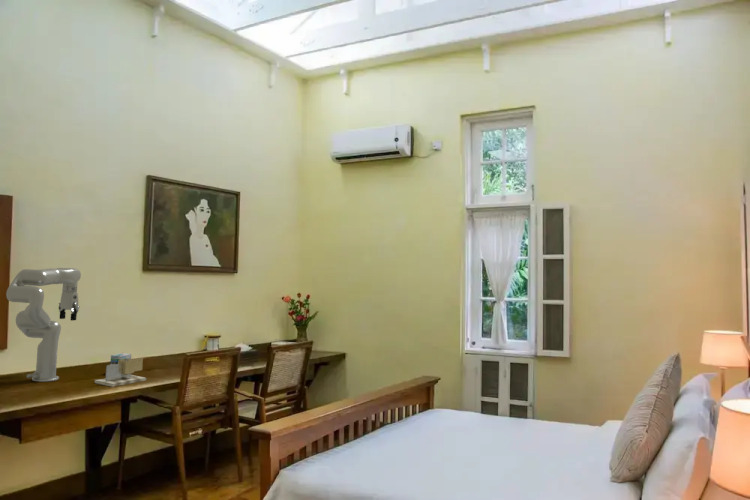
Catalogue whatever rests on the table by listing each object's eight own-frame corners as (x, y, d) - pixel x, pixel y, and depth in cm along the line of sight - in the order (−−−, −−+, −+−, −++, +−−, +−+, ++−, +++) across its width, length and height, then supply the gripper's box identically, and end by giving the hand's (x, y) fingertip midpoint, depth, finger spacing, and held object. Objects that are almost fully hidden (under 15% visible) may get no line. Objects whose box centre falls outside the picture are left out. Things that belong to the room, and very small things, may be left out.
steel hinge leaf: (109, 382, 315) (110, 362, 315) (102, 380, 317) (103, 361, 317) (133, 378, 328) (134, 359, 329) (126, 376, 331) (127, 357, 331)
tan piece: (125, 374, 323) (125, 361, 323) (117, 372, 326) (118, 359, 326) (145, 370, 336) (146, 358, 336) (138, 369, 338) (138, 357, 338)
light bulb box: (119, 375, 342) (120, 356, 342) (109, 373, 343) (110, 355, 343) (130, 371, 352) (131, 353, 353) (120, 370, 354) (121, 352, 354)
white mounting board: (112, 386, 311) (112, 383, 311) (94, 383, 318) (94, 380, 318) (145, 380, 331) (146, 377, 331) (128, 377, 337) (128, 374, 337)
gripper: (85, 290, 341) (83, 320, 340) (66, 288, 348) (64, 317, 348) (73, 290, 334) (71, 321, 333) (54, 288, 342) (52, 318, 341)
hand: (67, 319), depth 341 cm, fingers open, 9 cm apart
